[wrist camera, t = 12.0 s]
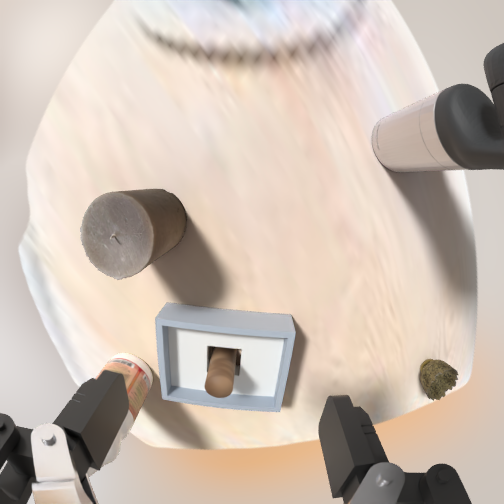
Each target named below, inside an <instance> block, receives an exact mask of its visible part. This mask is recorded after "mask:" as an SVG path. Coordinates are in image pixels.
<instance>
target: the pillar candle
mask: <svg viewBox="0 0 504 504" xmlns="http://www.w3.org/2000/svg"><path fill="white" fill-rule="evenodd" d="M186 221H187V219H186V213H185V209H184V207H183V205H182V203H181V202H180V201H179V199H178V198H177V197H176V196H175V195H174V194H172V193H169V192H167V191H165V190H163V189H145V190H132V191H118V192H110V193H106V194H103V195H101V196H99V197H98V198H96V199H95V200H94V201H93V202H92V203H91V205H90V206H89V207H88V209H87V211H86V212H85V215H84V217H83V221H82V226H81V228H80V232H81V241H82V245H83V246H84V249H85V252H86V256H88V257H89V260H90V262H91V263H92V264H93V265H94V266H95V267H96V268H98V270H99V271H101V272H102V273H104V274H106V275H107V276H110V277H114V279H117V280H120V279H123V278H127V277H131V276H133V275H135V274H137V273H139V272H141V271H142V270H143V269H144V268H146V267H147V266H148V265H150V264H151V263H152V262H154V261H155V260H157V259H158V258H159V257H161V256H162V255H164V254H165V253H167V252H168V251H169V250H171V249H172V248H173V247H175V246H176V245H177V244H178V243H179V242H180V241H181V239H182V237H183V235H184V232H185V229H186Z"/></svg>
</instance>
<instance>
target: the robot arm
mask: <svg viewBox="0 0 504 504" xmlns="http://www.w3.org/2000/svg"><path fill="white" fill-rule="evenodd" d="M484 70H485V74H486V78H487V82H488V85H489V88H490V91H491V94H492V98H493V102H494V104H493V103H492V102H491V100H490V99H489V98H488V97H487V96H486V95H485V94H484V93H483V92H482V91H481V90H479V89H478V88H476V87H474V86H472V85H469V84H457V85H454V86H451V87H449V88H447V89H445V90H442V91H440V92H438V93H435V94H433V95H431V96H429V97H427V98H425V99H422V100H420V101H418V102H416V103H414V104H412V105H409V106H407V107H405V108H403V109H401V110H399V111H397V112H395V113H393V114H391V115H389V116H387V117H385V118H383V119H381V120H380V121H379V122H377V124H376V125H375V127H374V130H373V133H372V145H373V150H374V152H375V154H376V156H377V158H378V159H379V161H380V162H381V163H382V164H383V165H384V166H385V167H387V168H388V169H390V170H392V171H395V172H417V171H442V170H482V169H503V170H504V43H503V44H501V45H499V46H497V47H495V48H494V49H492V50H491V51H490V52H489V53H488V54H487V55H486V57H485V60H484ZM128 410H129V399H128V394H127V389H126V384H125V379H124V376H123V374H121V373H117V372H113V371H109V370H104V371H103V372H102V373H101V374H100V375H99V377H98V378H97V379H94V378H92V379H90V380H88V381H87V382H85V383H83V384H82V385H81V387H80V388H79V389H78V391H77V393H76V394H74V396H73V397H72V400H70V401H69V403H68V404H67V405H66V406H65V408H64V409H63V410H62V412H61V413H60V414H59V416H58V417H57V418H56V420H55V421H54V422H53V423H52V424H50V423H46V424H41V425H39V426H37V427H36V428H35V429H34V430H33V429H28V428H23V427H18V426H16V425H15V424H14V422H13V420H12V419H11V418H10V416H8V415H6V414H1V413H0V469H1V468H2V466H3V464H4V463H5V461H6V460H7V461H8V462H7V464H6V466H5V467H4V469H3V471H2V472H1V474H0V504H27V502H28V500H29V498H30V496H31V493H32V491H33V496H34V501H35V504H98V501H97V499H96V496H95V494H94V491H93V488H92V486H91V483H90V480H89V477H88V475H87V471H88V469H89V468H90V467H91V468H94V469H96V470H100V468H101V466H102V464H103V462H104V460H105V458H106V456H107V454H108V452H109V450H110V448H111V446H112V444H113V442H114V440H115V438H116V436H117V434H118V432H119V430H120V428H121V426H122V424H123V422H124V420H125V418H126V416H127V414H128ZM319 438H320V442H321V447H322V451H323V456H324V460H325V464H326V469H327V474H328V478H329V483H330V487H331V492H332V497H333V498H339V497H343V501H344V504H472V503H471V501H470V499H469V497H468V494H467V492H466V490H465V488H464V486H463V484H462V482H461V480H460V478H459V476H458V473H457V472H456V470H455V469H454V468H453V467H451V466H449V465H447V464H436V465H434V466H432V467H431V468H430V469H429V470H428V471H427V472H426V473H406V472H403V470H402V469H401V468H400V467H398V466H397V465H395V464H393V463H389V461H388V459H387V457H386V454H385V452H384V449H383V447H382V445H381V442H380V440H379V438H378V435H377V434H376V431H375V429H374V426H372V422H371V420H370V417H369V415H368V414H367V413H366V412H365V411H364V410H363V409H362V408H361V407H353V404H352V402H351V399H350V397H349V396H348V395H340V396H329V397H328V399H327V401H326V404H325V407H324V410H323V413H322V416H321V419H320V422H319Z"/></svg>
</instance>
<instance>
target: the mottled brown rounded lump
mask: <svg viewBox="0 0 504 504" xmlns="http://www.w3.org/2000/svg"><path fill="white" fill-rule="evenodd" d="M420 371H421V375H420V381H421V384H422V386H423V388H424V390H425V392H426V394H427V396H428V398H429V399H430V398H431V399H432V400H433V401H434V399H437V400H440V398H441V397H444V396H445V391H447V390H448V389H450V390H452V387H454V386H456V381H455V380H458V378H457V376H456V375H458V373H457V371H456V370H455V369H454V368H452V367H451V366H450V365H448V364H447V363H446V362H444V361H442V360H433V359H427V360H425V361H424V362H423V363H422V365H421V367H420Z"/></svg>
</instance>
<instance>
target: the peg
mask: <svg viewBox="0 0 504 504" xmlns="http://www.w3.org/2000/svg"><path fill="white" fill-rule="evenodd" d="M236 355H237V350H236V349H234V348H224V347H215V346H214V348H213V352H212V356H211V360H210V365H209V369H208V373H207V377H206V381H205V390H206V392H207V393H208V394H209V395H211V396H213V397H216V398H224V397H227V396H229V395H230V394H231V393H232V391H233V384H234V374H235V364H236Z"/></svg>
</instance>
